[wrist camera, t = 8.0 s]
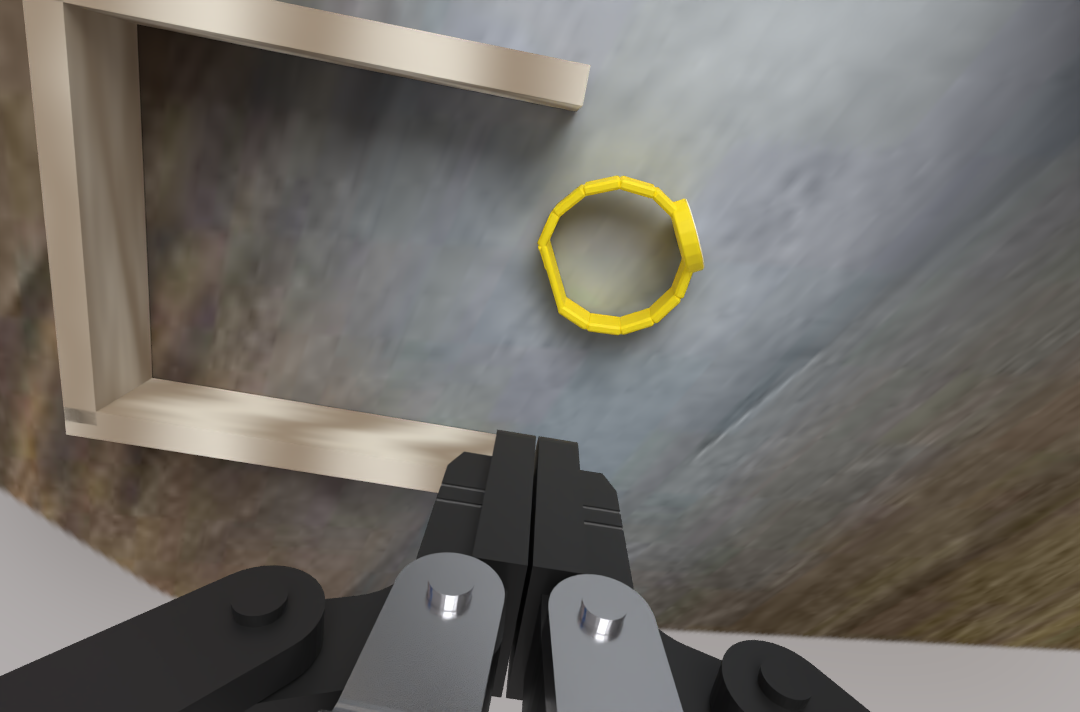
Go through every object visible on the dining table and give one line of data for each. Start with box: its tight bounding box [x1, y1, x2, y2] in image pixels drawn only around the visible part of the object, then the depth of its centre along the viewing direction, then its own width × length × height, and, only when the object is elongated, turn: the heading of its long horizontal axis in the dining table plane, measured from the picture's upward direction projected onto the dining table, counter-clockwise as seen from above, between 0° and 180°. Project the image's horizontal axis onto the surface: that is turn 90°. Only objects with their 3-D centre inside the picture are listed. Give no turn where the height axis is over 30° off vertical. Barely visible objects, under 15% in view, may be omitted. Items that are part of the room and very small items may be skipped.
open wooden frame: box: [23, 0, 590, 493], centre depth 22 cm, size 17×16×4 cm
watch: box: [537, 176, 704, 335], centre depth 23 cm, size 6×3×6 cm
